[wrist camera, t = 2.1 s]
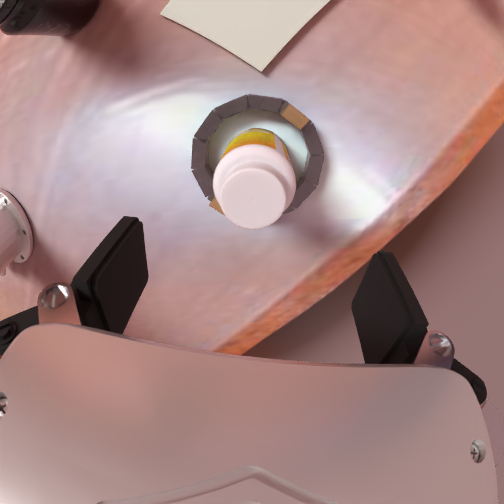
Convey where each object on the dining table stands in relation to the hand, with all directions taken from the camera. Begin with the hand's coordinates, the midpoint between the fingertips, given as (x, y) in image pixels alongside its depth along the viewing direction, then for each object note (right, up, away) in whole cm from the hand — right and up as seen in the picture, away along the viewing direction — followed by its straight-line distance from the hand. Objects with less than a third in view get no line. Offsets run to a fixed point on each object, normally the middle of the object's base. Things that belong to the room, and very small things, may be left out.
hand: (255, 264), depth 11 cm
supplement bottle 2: (0, +9, +14) cm, 17 cm away
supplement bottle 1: (-18, +25, +4) cm, 31 cm away
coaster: (0, +22, +5) cm, 23 cm away
